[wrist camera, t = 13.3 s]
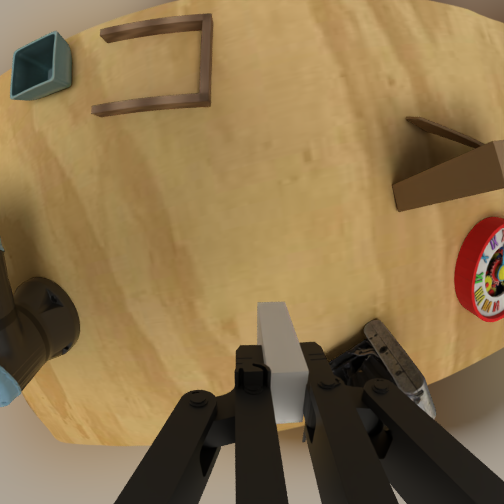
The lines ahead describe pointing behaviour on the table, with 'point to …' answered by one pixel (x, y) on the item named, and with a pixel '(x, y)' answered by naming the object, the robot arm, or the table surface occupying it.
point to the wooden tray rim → (155, 28)
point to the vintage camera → (383, 366)
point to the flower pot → (41, 68)
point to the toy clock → (482, 270)
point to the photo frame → (453, 172)
